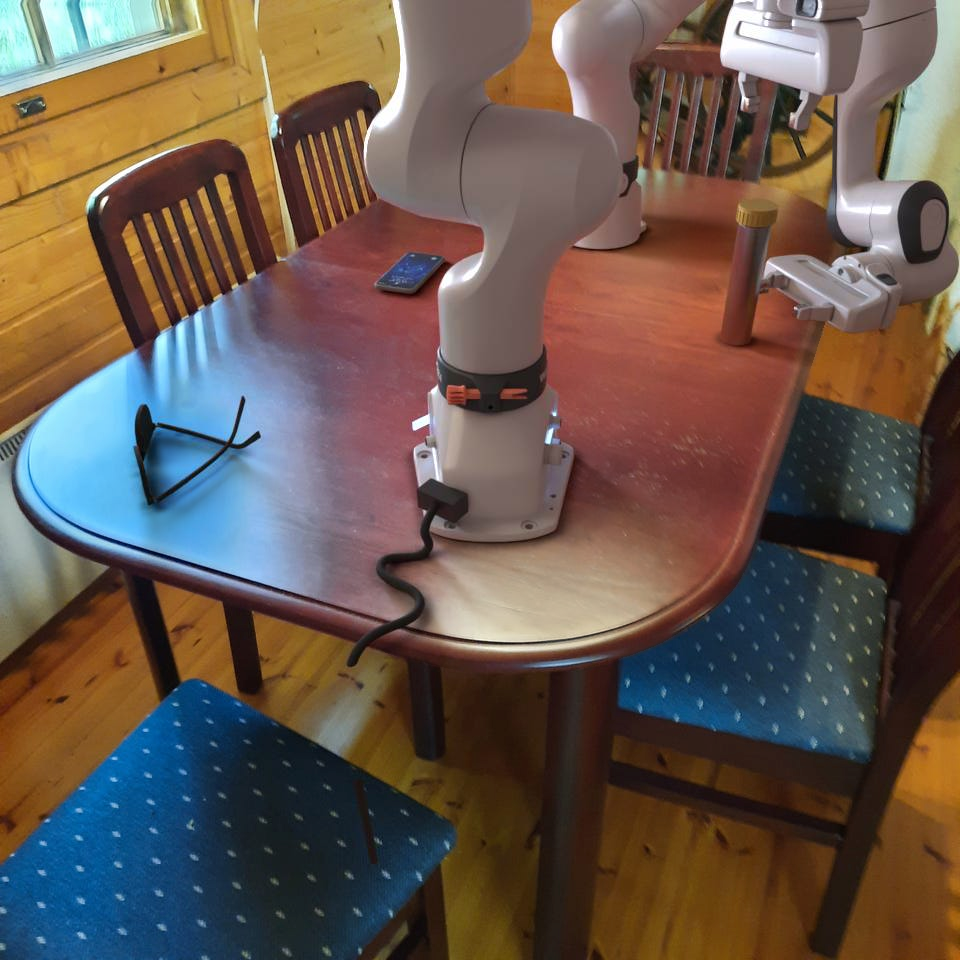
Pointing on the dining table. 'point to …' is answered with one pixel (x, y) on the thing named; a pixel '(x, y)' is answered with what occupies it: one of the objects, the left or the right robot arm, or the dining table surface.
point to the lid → (757, 213)
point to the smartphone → (409, 272)
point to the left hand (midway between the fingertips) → (772, 120)
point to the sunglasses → (147, 427)
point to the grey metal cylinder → (744, 284)
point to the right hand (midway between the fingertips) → (775, 300)
